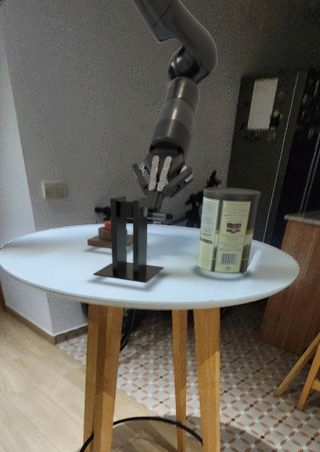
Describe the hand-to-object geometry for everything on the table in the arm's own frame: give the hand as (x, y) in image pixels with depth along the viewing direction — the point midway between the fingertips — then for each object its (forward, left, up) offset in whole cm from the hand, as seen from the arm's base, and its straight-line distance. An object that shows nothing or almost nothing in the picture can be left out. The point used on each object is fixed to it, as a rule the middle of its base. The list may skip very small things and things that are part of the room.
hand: (151, 212), depth 71 cm
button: (-12, +8, -6) cm, 15 cm away
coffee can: (+15, +1, -10) cm, 18 cm away
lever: (0, -6, -1) cm, 6 cm away
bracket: (0, -11, -9) cm, 15 cm away
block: (-12, +8, -9) cm, 17 cm away
